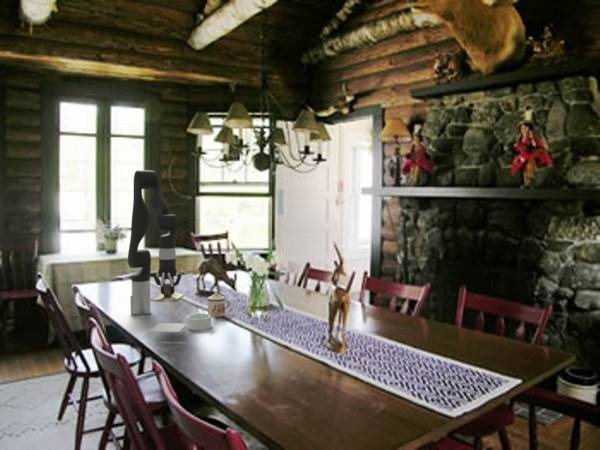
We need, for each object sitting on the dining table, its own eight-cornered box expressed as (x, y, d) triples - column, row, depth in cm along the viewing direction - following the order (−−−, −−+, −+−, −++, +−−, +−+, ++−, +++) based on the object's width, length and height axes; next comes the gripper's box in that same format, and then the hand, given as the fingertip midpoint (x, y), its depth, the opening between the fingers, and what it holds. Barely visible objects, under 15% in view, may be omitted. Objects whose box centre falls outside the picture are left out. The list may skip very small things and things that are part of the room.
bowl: (184, 330, 238) (184, 319, 238) (190, 324, 249) (190, 313, 248) (207, 331, 237) (207, 319, 237) (213, 324, 248) (212, 313, 248)
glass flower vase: (242, 305, 288) (242, 273, 286) (254, 300, 299) (254, 270, 298) (261, 308, 282) (261, 275, 281) (274, 303, 293) (274, 272, 292)
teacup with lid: (212, 318, 261) (211, 295, 260) (204, 314, 268) (204, 292, 267) (233, 314, 267) (233, 292, 266) (225, 311, 275) (225, 289, 274)
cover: (150, 301, 235) (150, 286, 235) (159, 295, 247) (159, 281, 247) (176, 302, 235) (176, 286, 234) (184, 296, 247) (184, 281, 246)
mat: (148, 332, 236) (148, 331, 235) (158, 323, 249) (158, 322, 249) (178, 333, 235) (178, 331, 235) (187, 324, 249) (187, 323, 249)
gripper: (149, 258, 236) (150, 295, 238) (180, 259, 235) (180, 296, 237) (155, 256, 243) (155, 292, 245) (184, 256, 243) (185, 292, 244)
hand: (167, 294), depth 241 cm, fingers closed on cover, 3 cm apart
